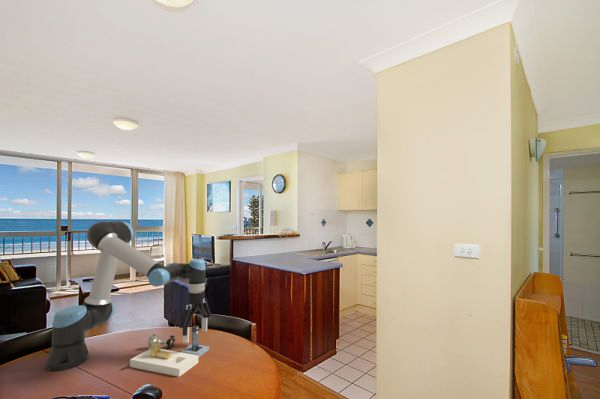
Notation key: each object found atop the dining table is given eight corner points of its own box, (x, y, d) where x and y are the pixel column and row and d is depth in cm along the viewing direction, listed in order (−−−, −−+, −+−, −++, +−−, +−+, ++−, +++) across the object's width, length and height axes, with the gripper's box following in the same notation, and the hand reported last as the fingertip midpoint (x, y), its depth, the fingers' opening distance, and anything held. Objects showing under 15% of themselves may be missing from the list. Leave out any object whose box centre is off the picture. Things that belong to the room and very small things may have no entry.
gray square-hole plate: (180, 356, 132) (180, 350, 132) (191, 349, 140) (192, 343, 140) (198, 359, 129) (198, 353, 129) (208, 351, 137) (209, 346, 137)
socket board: (129, 369, 121) (130, 359, 121) (151, 356, 132) (152, 347, 132) (179, 379, 113) (179, 368, 113) (198, 364, 124) (198, 355, 125)
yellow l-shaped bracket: (150, 356, 123) (150, 345, 124) (155, 353, 126) (156, 342, 127) (166, 359, 121) (167, 347, 121) (172, 355, 124) (172, 344, 124)
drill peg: (189, 354, 133) (190, 328, 134) (194, 350, 136) (194, 325, 137) (195, 355, 132) (196, 328, 133) (200, 351, 136) (200, 326, 136)
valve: (144, 352, 137) (168, 352, 137) (145, 338, 137) (169, 338, 137) (151, 346, 143) (175, 346, 143) (152, 332, 144) (175, 332, 144)
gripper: (185, 298, 124) (184, 348, 122) (218, 286, 147) (217, 327, 146) (171, 297, 126) (170, 346, 124) (206, 285, 150) (204, 326, 148)
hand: (195, 336), depth 135 cm, fingers open, 13 cm apart
